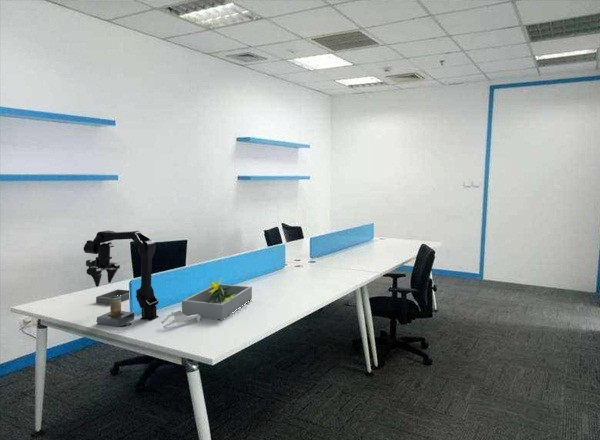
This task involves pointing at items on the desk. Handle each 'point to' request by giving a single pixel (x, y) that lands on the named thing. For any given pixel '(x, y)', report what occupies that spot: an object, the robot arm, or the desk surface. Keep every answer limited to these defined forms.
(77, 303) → the desk surface
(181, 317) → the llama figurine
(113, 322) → the housing
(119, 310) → the end plug
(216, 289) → the daffodil flowers
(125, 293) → the tray
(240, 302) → the planter
